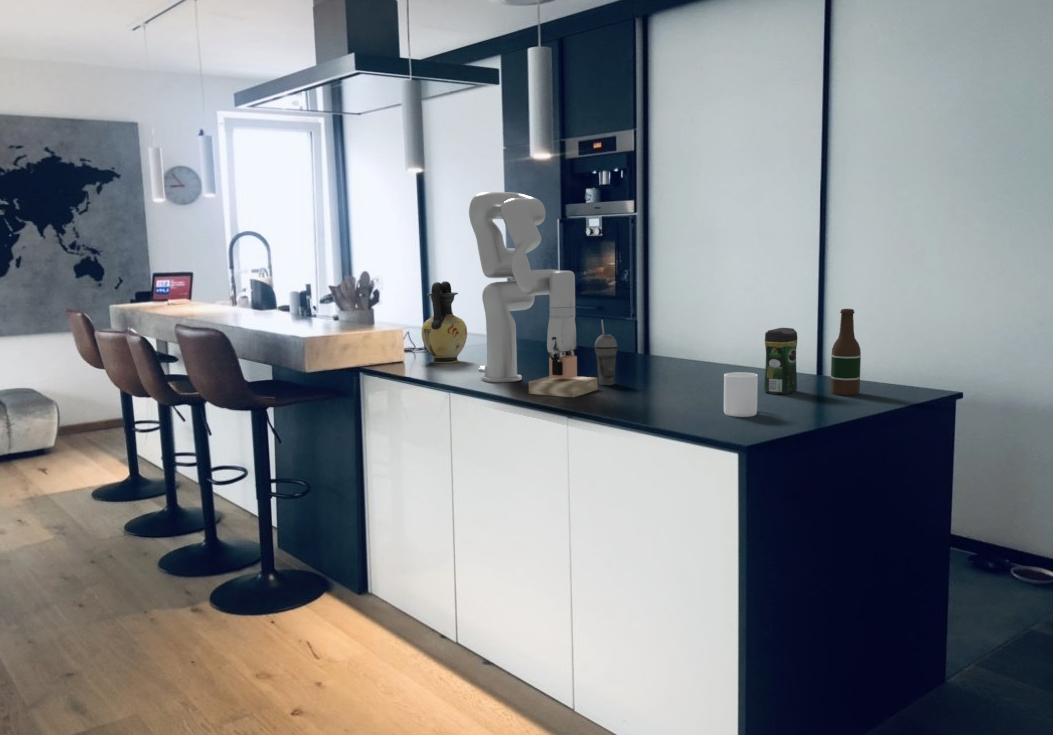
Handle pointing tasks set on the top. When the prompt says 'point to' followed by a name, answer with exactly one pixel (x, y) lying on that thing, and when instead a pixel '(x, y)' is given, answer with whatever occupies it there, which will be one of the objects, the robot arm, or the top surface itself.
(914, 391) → the top surface
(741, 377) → the cup
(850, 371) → the beer bottle
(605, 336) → the beverage cup
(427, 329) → the amphora
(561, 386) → the maple block
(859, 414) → the top surface
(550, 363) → the terracotta cube
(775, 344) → the coffee jar
